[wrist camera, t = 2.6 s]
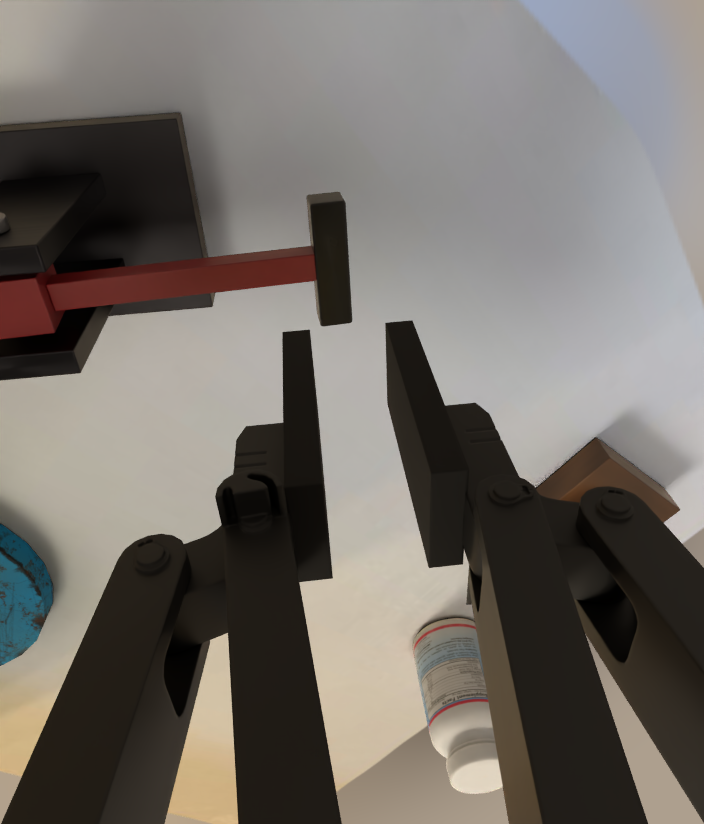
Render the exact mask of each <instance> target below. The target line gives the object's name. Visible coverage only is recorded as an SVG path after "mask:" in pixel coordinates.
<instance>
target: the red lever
mask: <svg viewBox="0 0 704 824" xmlns="http://www.w3.org/2000/svg"><path fill="white" fill-rule="evenodd" d="M307 208H308V219H309V230H310V241H311V246H307V247H298V248H289V249H280V250H271V251H262V252H253V253H244V254H235V255H226V256H217V257H208V258H199V259H190V260H181V261H172V262H163V263H154V264H145V265H136V266H127V267H118V268H109V269H100V270H91V271H82V272H73V273H64V274H56V271H55V268H54V265H53V264H52V265H51V266H50V268H49V269H48V270H47V272H45V273H33V274H21V275H9V276H0V340H1V339H9V338H17V337H25V336H34V335H42V334H50V333H55V332H56V329H57V327H58V325H59V323H60V321H61V319H62V316H63V314H64V312H65V310H70V309H79V308H87V307H96V306H105V305H113V304H122V303H130V302H139V301H147V300H156V299H164V298H173V297H181V296H190V295H198V294H207V293H215V292H224V291H232V290H241V289H249V288H258V287H266V286H275V285H283V284H292V283H301V282H309V281H314V285H315V296H316V307H317V314H318V318H319V321H320V324H321V326H330V325H338V324H346V323H351V322H352V307H351V290H350V272H349V255H348V238H347V220H346V203H345V201H344V199H343V197H342V195H341V193H340V192H332V193H322V194H312V195H308V196H307Z"/></svg>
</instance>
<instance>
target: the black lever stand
mask: <svg viewBox="0 0 704 824" xmlns="http://www.w3.org/2000/svg"><path fill="white" fill-rule="evenodd" d="M199 258H208V255H207V250H206V245H205V239H204V234H203V229H202V223H201V218H200V213H199V207H198V202H197V197H196V191H195V186H194V181H193V175H192V170H191V165H190V159H189V154H188V149H187V143H186V138H185V133H184V127H183V122H182V117H181V113H168V114H154V115H141V116H127V117H113V118H100V119H86V120H73V121H59V122H45V123H32V124H18V125H4V126H0V276H9V275H21V274H33V273H45V272H47V270H48V269H49V268H50V266H51V265H52V264H53V265H54V268H55V271H56V274H64V273H73V272H82V271H91V270H100V269H109V268H118V267H127V266H136V265H145V264H154V263H163V262H172V261H181V260H190V259H199ZM214 297H215V293H207V294H198V295H190V296H181V297H173V298H164V299H156V300H147V301H139V302H130V303H122V304H113V305H105V306H96V307H87V308H79V309H70V310H65V312H64V314H63V316H62V319H61V321H60V323H59V325H58V327H57V329H56V332H55V333H50V334H42V335H34V336H25V337H17V338H9V339H1V340H0V380H10V379H21V378H32V377H43V376H54V375H64V374H75V373H81V371H82V369H83V367H84V365H85V363H86V361H87V359H88V357H89V355H90V353H91V351H92V349H93V347H94V345H95V343H96V341H97V339H98V337H99V335H100V333H101V330H102V328H103V326H104V324H105V322H106V320H107V318H108V316H114V315H125V314H137V313H148V312H159V311H171V310H182V309H194V308H205V307H212V306H213V302H214Z"/></svg>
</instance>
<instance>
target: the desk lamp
mask: <svg viewBox="0 0 704 824" xmlns="http://www.w3.org/2000/svg"><path fill="white" fill-rule="evenodd" d="M52 604H53V584H52V581H51V579H50V576H49V574H48V572H47V569H46V567H45V564H44V563H43V561H42V560H41V559H40V558H39V557H38V556H37V554H36V553H35V552H34V551H33V550H32V548H31V547H30V546H29V545H28V544H27V543H26V542H25V541H24V540H22V539H21V538H20V537H18V536H17V535H15V534H14V533H13V532H11V531H10V530H9V529H7V528H6V527H5V526H3V525H2V524H0V666H1V665H3V664H5V663H7V662H9V661H11V660H13V659H15V658H17V657H18V656H20V655H22V654H23V653H24V652H25V651H26V650H27V649H28V648H29V647H30V646H31V645H32V644H33V643H34V642H35V641H36V640H37V638H38V636H39V634H40V631H41V629H42V627H43V625H44V622H45V620H46V618H47V615H48V613H49V611H50V608H51V606H52Z"/></svg>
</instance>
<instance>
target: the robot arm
mask: <svg viewBox="0 0 704 824" xmlns="http://www.w3.org/2000/svg"><path fill="white" fill-rule="evenodd" d="M386 361H387V401H388V407H389V411H390V415H391V419H392V423H393V427H394V431H395V435H396V439H397V443H398V447H399V451H400V455H401V459H402V463H403V467H404V471H405V475H406V479H407V483H408V487H409V491H410V495H411V499H412V503H413V507H414V511H415V515H416V519H417V523H418V527H419V531H420V534H421V538H422V542H423V546H424V550H425V554H426V558H427V562H428V566H429V568H432V567H442V566H451V565H460V564H463V554H464V550H465V553H466V556H467V559H468V562H469V576H468V589H467V602H466V605H470V604H472V607H473V613H474V619H475V625H476V631H477V637H478V643H479V649H480V655H481V661H482V667H483V673H484V679H485V684H486V690H487V696H488V702H489V708H490V714H491V720H492V726H493V732H494V738H495V744H496V750H497V756H498V761H499V767H500V773H501V779H502V785H503V791H504V797H505V803H506V808H507V815H508V821H509V824H648V822H647V819H646V816H645V813H644V810H643V807H642V804H641V801H640V798H639V795H638V792H637V789H636V786H635V783H634V780H633V777H632V774H631V771H630V768H629V765H628V762H627V759H626V756H625V753H624V749H623V747H622V743H621V740H620V737H619V734H618V732H617V728H616V726H615V722H614V719H613V716H612V713H611V710H610V708H609V704H608V701H607V698H606V695H605V692H604V689H603V686H602V683H601V680H600V677H599V674H598V671H597V668H596V665H595V662H594V659H593V656H592V653H591V650H590V647H589V644H588V641H587V638H586V635H587V637H588V638H589V640H590V641H591V643H592V645H593V646H594V648H595V650H596V651H597V652H598V654H599V656H600V658H601V659H602V661H603V662H604V664H605V665H606V667H607V669H608V670H609V672H610V674H611V675H612V677H613V678H614V680H615V681H616V683H617V685H618V686H619V688H620V690H621V691H622V693H623V694H624V696H625V697H626V699H627V701H628V702H629V704H630V705H631V707H632V709H633V710H634V712H635V713H636V715H637V717H638V718H639V720H640V721H641V723H642V725H643V726H644V728H645V729H646V731H647V733H648V734H649V736H650V737H651V739H652V741H653V742H654V744H655V745H656V747H657V749H658V750H659V752H660V753H661V755H662V757H663V758H664V760H665V761H666V763H667V765H668V766H669V768H670V769H671V771H672V773H673V774H674V776H675V777H676V779H677V781H678V782H679V784H680V785H681V787H682V789H683V790H684V792H685V793H686V795H687V797H688V798H689V800H690V801H691V803H692V805H693V806H694V808H695V809H696V811H697V812H698V814H699V816H700V817H701V819H702V820H703V822H704V568H703V567H702V566H701V565H700V563H699V562H698V561H697V560H696V559H695V558H694V557H693V556H692V554H691V553H690V552H689V551H688V550H687V549H686V548H685V547H684V545H683V544H682V543H681V542H680V541H679V540H678V539H677V538H676V537H675V535H674V534H673V533H672V532H671V531H670V530H669V529H668V528H667V527H666V525H665V524H664V523H663V522H662V521H661V520H660V519H659V518H658V516H657V515H656V514H655V513H654V512H653V511H652V510H651V509H650V508H649V506H648V505H647V504H646V503H645V502H644V501H643V500H641V499H640V498H639V497H638V496H636V495H635V494H633V493H631V492H629V491H626V490H624V489H621V488H616V487H610V486H606V487H596V488H593V489H590V490H588V491H586V492H585V494H584V495H583V496H582V497H581V500H580V503H579V502H571V501H564V500H557V499H552V498H547V497H545V496H542V495H539V493H538V492H537V490H536V489H535V487H534V486H533V485H532V484H530V483H529V482H528V481H526V480H525V479H522V478H519V476H518V473H517V471H516V469H515V467H514V465H513V463H512V461H511V459H510V457H509V455H508V452H507V450H506V448H505V446H504V444H503V442H502V440H501V439H500V436H499V434H498V431H497V430H496V429H495V425H494V423H493V421H492V419H491V417H490V415H489V413H487V412H486V411H485V410H484V409H482V408H481V407H480V406H479V405H477V404H476V403H469V404H459V405H448V406H445V405H444V402H443V399H442V397H441V394H440V392H439V389H438V386H437V384H436V381H435V379H434V376H433V373H432V371H431V368H430V365H429V363H428V360H427V358H426V355H425V352H424V350H423V347H422V345H421V342H420V339H419V337H418V334H417V332H416V329H415V326H414V324H413V321H401V322H390V323H386ZM215 498H216V502H217V506H218V510H219V515H220V519H221V523H222V525H221V526H220V527H219V528H218V529H217V530H215V531H214V532H212V533H211V534H209V535H207V536H205V537H203V538H200V539H198V540H195V541H192V542H189V543H186V544H183V542H182V541H181V540H180V539H178V538H176V537H175V536H172V535H165V534H157V535H151V536H147V537H144V538H142V539H140V540H137V541H135V542H134V543H133V544H131V545H130V546H129V547H127V548H126V549H125V550H124V552H123V553H122V554H121V556H120V557H119V559H118V561H117V563H116V565H115V568H114V570H113V572H112V574H111V577H110V579H109V581H108V583H107V586H106V588H105V590H104V592H103V595H102V597H101V599H100V601H99V604H98V606H97V608H96V610H95V613H94V615H93V617H92V620H91V622H90V624H89V626H88V629H87V631H86V633H85V635H84V638H83V640H82V642H81V644H80V647H79V649H78V651H77V653H76V656H75V658H74V660H73V662H72V665H71V667H70V669H69V672H68V674H67V676H66V678H65V681H64V683H63V685H62V687H61V690H60V692H59V694H58V696H57V699H56V701H55V703H54V705H53V708H52V710H51V712H50V714H49V717H48V719H47V721H46V724H45V726H44V728H43V730H42V733H41V735H40V737H39V739H38V742H37V744H36V746H35V748H34V751H33V753H32V755H31V757H30V760H29V762H28V764H27V766H26V769H25V771H24V773H23V775H22V778H21V780H20V782H19V785H18V787H17V789H16V791H15V794H14V796H13V798H12V800H11V803H10V805H9V807H8V809H7V812H6V814H5V816H4V818H3V821H2V823H1V824H164V823H165V819H166V815H167V811H168V807H169V803H170V799H171V795H172V791H173V787H174V783H175V779H176V775H177V771H178V768H179V764H180V760H181V756H182V752H183V748H184V744H185V740H186V736H187V732H188V728H189V724H190V720H191V716H192V712H193V708H194V704H195V700H196V696H197V692H198V688H199V684H200V680H201V676H202V672H203V668H204V664H205V661H206V657H207V653H208V649H209V645H210V640H211V639H213V638H216V637H218V636H221V635H223V634H226V633H228V640H229V658H230V676H231V695H232V713H233V732H234V750H235V768H236V787H237V805H238V824H342V823H341V818H340V812H339V806H338V801H337V795H336V789H335V783H334V778H333V772H332V766H331V761H330V755H329V749H328V744H327V738H326V732H325V727H324V721H323V715H322V710H321V704H320V698H319V693H318V687H317V681H316V676H315V670H314V664H313V658H312V653H311V647H310V641H309V636H308V630H307V624H306V619H305V613H304V607H303V602H302V596H301V590H300V585H299V582H304V581H313V580H322V579H331V578H333V577H332V565H331V554H330V543H329V531H328V520H327V509H326V497H325V486H324V475H323V464H322V452H321V441H320V430H319V418H318V407H317V397H316V388H315V378H314V368H313V358H312V348H311V338H310V330H301V331H290V332H283V423H276V424H266V425H256V426H246V427H245V429H244V430H243V431H242V433H241V434H240V436H239V437H238V438H237V440H236V451H235V462H234V473H233V475H231V476H230V477H228V478H227V479H225V480H224V481H223V482H222V483H221V484H220V486H219V487H218V488H217V492H216V496H215ZM585 634H586V635H585Z"/></svg>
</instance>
